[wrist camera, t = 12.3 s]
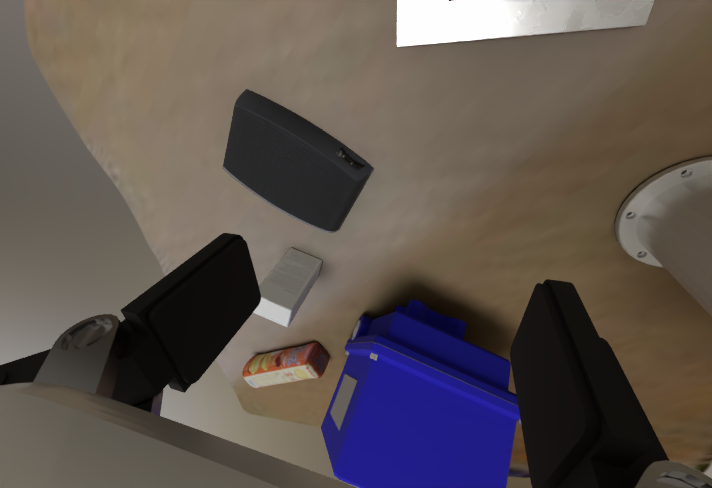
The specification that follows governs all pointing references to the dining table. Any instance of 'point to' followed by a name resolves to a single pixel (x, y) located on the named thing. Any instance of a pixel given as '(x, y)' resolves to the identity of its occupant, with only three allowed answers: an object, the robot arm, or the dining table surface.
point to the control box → (420, 406)
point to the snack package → (286, 365)
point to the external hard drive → (293, 163)
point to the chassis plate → (510, 18)
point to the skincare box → (287, 286)
